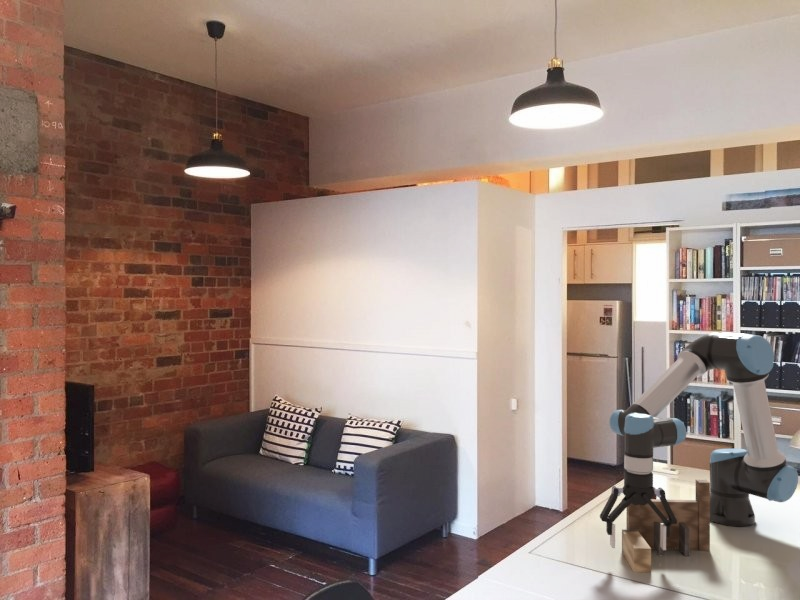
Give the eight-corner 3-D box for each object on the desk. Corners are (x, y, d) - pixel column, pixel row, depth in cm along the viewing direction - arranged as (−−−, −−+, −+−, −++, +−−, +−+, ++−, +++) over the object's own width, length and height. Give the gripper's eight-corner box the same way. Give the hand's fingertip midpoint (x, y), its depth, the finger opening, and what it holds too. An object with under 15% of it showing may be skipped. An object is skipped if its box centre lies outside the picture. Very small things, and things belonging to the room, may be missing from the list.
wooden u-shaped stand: (706, 546, 198) (706, 479, 197) (715, 556, 190) (715, 487, 190) (626, 544, 200) (626, 478, 199) (633, 554, 192) (632, 485, 192)
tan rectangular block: (638, 553, 193) (638, 529, 193) (651, 572, 180) (651, 547, 180) (621, 552, 194) (621, 529, 194) (633, 571, 181) (633, 547, 180)
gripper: (680, 468, 187) (679, 544, 187) (589, 465, 189) (589, 540, 189) (689, 475, 179) (689, 554, 179) (595, 472, 181) (594, 550, 181)
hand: (637, 547), depth 184 cm, fingers open, 13 cm apart
